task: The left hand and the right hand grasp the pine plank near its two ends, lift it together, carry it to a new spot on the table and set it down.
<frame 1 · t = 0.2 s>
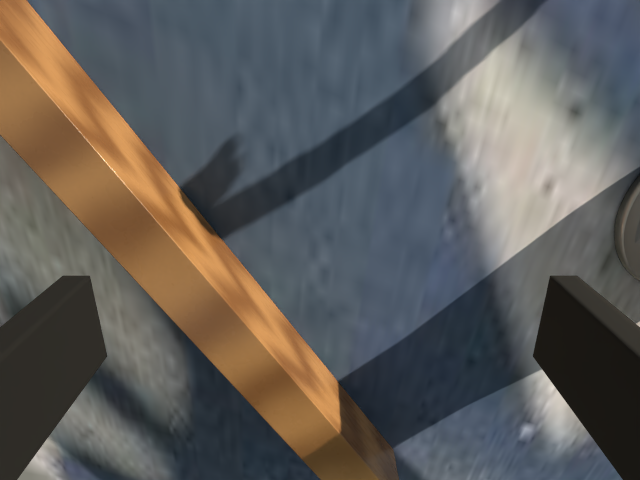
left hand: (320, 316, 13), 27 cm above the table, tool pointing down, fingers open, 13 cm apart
plank: (225, 279, 43), on the table
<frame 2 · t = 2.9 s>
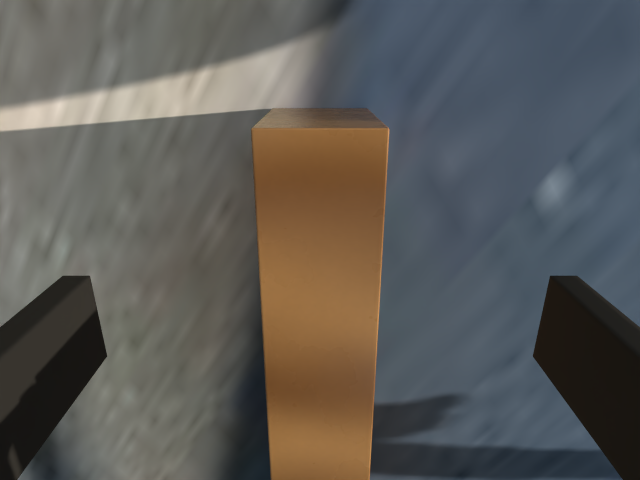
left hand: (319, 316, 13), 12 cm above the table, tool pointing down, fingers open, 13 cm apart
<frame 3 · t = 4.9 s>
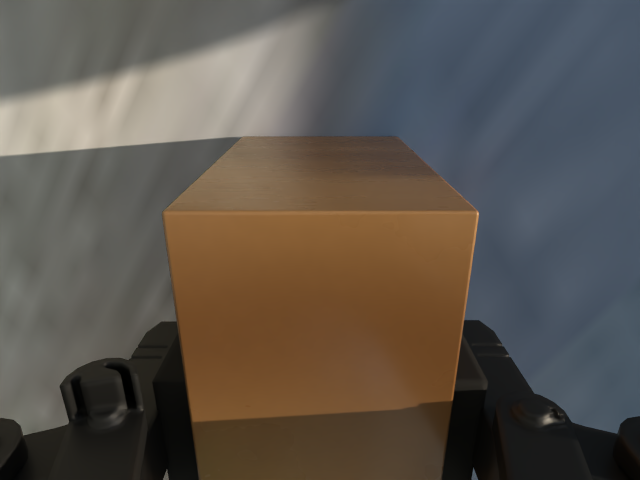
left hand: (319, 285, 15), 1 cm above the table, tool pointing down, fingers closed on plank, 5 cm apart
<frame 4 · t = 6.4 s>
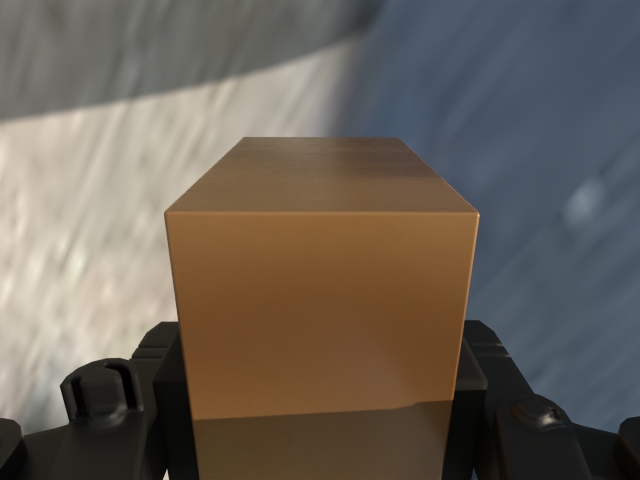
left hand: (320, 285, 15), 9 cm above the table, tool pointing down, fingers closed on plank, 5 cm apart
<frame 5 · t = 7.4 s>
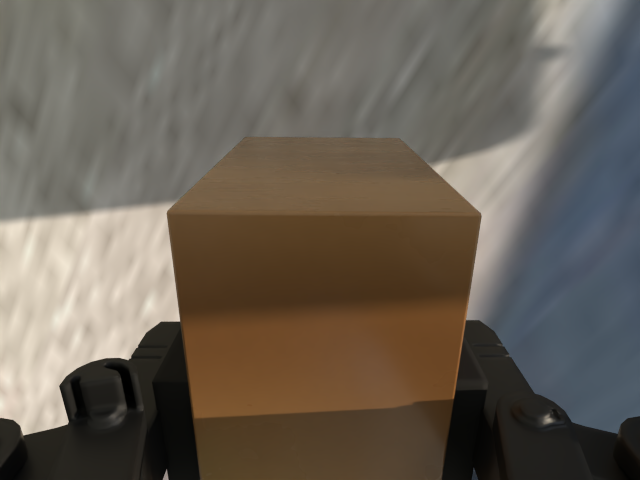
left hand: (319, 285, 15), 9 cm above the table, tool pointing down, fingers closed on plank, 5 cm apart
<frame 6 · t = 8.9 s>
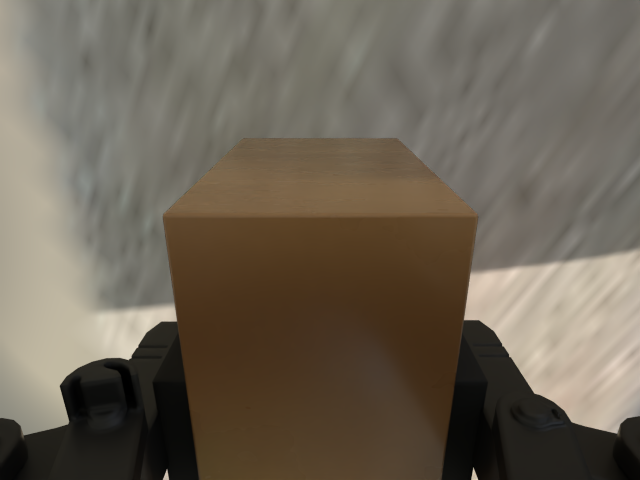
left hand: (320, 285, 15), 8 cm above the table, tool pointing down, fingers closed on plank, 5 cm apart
when the left hand's fingers open (2 cm above the table, at t = 9.9 s): plank drops 1 cm, on the table.
when the right hand's fingers open (2 cm above the table, at t = 9.9 s): plank drops 1 cm, on the table.
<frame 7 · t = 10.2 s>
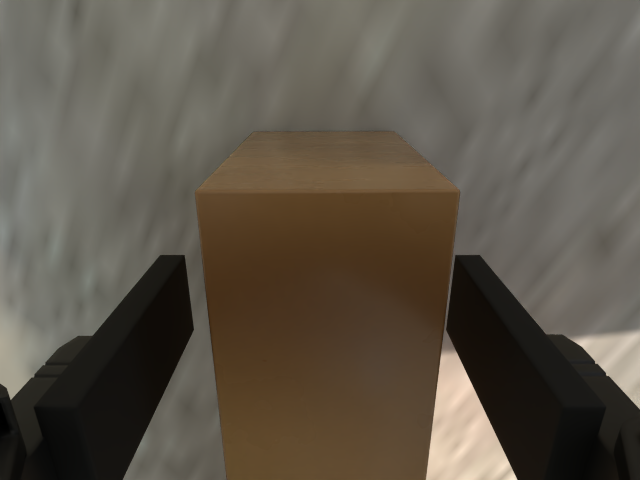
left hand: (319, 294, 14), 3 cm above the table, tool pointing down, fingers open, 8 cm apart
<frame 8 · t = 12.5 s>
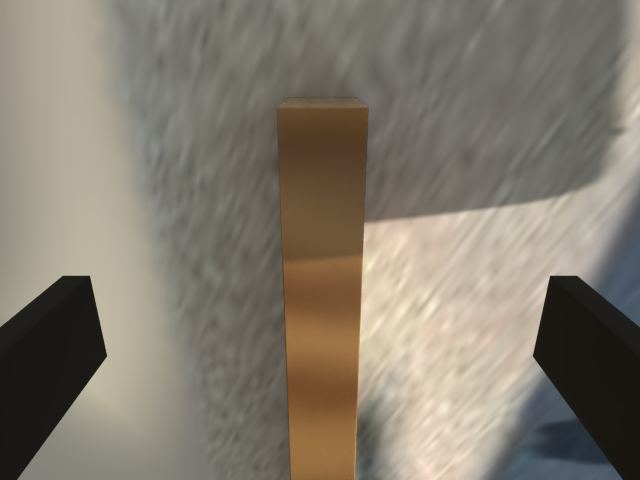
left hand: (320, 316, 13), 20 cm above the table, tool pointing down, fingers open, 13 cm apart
plank: (322, 422, 40), on the table
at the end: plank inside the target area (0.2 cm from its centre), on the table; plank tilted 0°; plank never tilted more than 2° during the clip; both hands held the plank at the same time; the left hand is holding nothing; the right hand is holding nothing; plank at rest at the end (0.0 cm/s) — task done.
